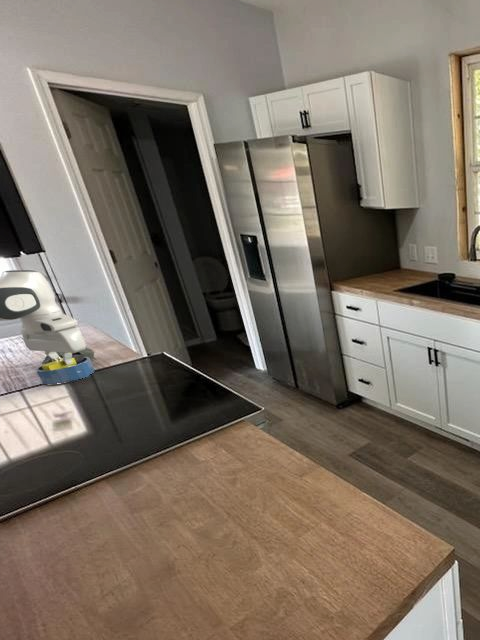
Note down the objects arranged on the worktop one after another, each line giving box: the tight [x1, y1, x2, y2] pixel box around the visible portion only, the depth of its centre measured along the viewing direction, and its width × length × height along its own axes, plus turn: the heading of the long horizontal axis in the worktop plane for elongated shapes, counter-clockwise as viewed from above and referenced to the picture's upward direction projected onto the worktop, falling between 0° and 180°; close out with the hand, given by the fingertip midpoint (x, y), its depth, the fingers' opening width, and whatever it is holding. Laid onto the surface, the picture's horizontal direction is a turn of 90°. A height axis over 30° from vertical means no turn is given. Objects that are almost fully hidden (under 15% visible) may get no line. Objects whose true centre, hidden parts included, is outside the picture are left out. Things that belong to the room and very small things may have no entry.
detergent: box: [41, 347, 95, 365], centre depth 145 cm, size 13×7×25 cm
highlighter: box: [40, 355, 85, 371], centre depth 131 cm, size 9×3×3 cm, turn 167°
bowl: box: [34, 357, 96, 386], centre depth 132 cm, size 12×12×5 cm
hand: (63, 363), depth 131 cm, fingers closed on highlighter, 3 cm apart
